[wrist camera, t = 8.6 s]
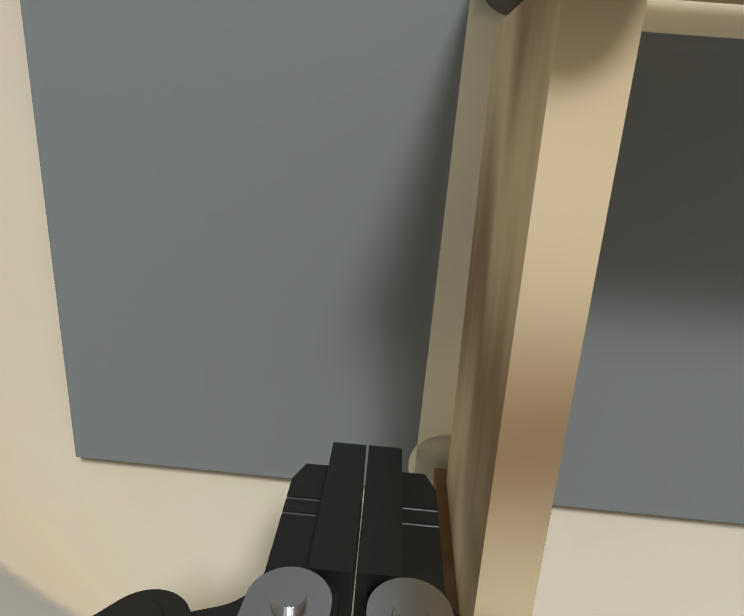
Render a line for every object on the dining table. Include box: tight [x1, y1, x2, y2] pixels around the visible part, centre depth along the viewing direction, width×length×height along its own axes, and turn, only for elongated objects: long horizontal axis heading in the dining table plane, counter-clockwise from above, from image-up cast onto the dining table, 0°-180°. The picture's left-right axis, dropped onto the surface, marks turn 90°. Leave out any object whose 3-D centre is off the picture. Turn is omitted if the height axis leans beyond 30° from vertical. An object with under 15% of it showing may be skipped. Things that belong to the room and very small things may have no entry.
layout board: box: [20, 0, 744, 524], centre depth 14 cm, size 25×21×1 cm
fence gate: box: [433, 0, 647, 616], centre depth 12 cm, size 13×2×7 cm, turn 177°
